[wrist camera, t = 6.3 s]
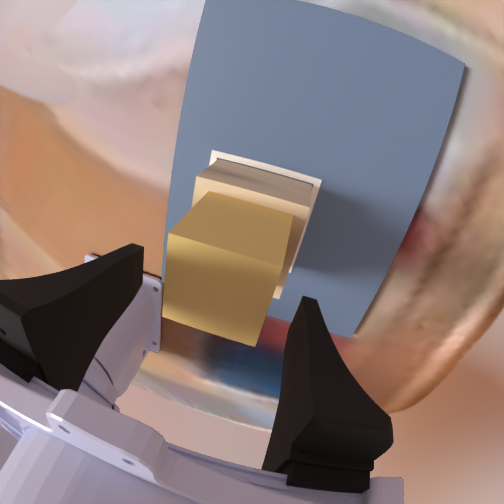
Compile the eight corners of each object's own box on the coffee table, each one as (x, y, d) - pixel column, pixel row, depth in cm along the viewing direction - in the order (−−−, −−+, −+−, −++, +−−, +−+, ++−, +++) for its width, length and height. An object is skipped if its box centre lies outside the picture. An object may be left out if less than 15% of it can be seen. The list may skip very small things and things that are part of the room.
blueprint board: (350, 333, 25) (350, 339, 24) (164, 278, 26) (160, 283, 25) (461, 64, 13) (465, 63, 13) (212, -10, 14) (208, -12, 14)
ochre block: (271, 284, 18) (255, 346, 14) (196, 262, 18) (162, 316, 14) (293, 215, 16) (282, 267, 12) (208, 191, 16) (168, 232, 12)
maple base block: (286, 264, 22) (279, 299, 19) (203, 240, 22) (183, 270, 19) (311, 184, 19) (310, 207, 16) (218, 159, 19) (196, 176, 16)
